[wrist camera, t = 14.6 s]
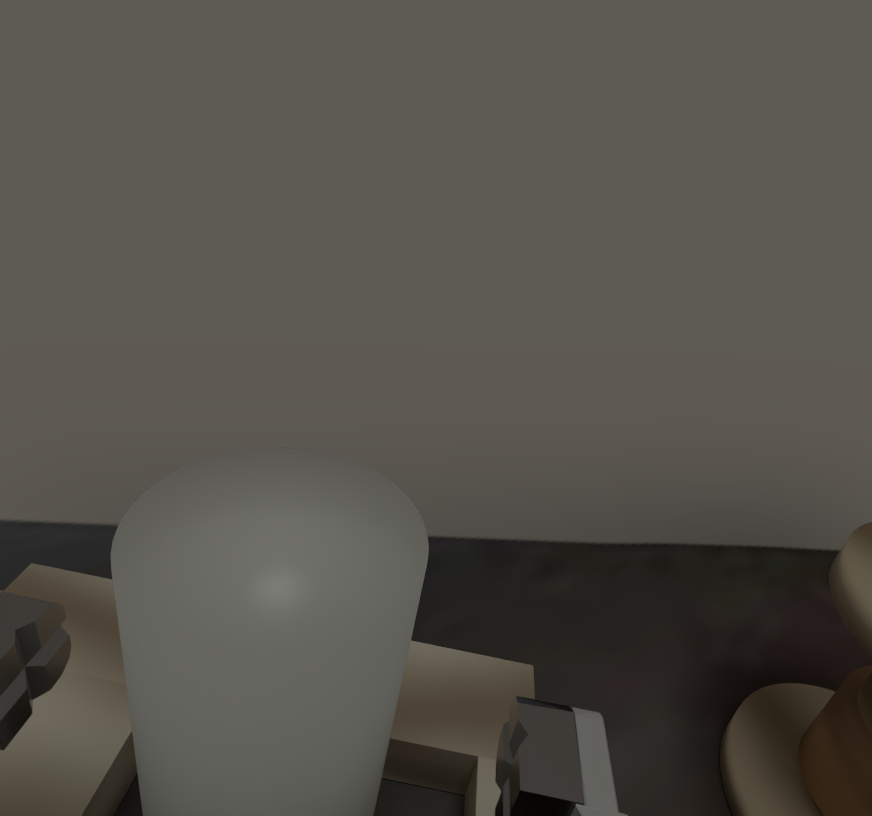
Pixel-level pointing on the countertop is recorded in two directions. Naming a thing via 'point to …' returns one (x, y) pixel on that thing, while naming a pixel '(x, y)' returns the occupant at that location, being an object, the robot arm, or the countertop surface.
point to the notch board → (112, 733)
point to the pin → (266, 632)
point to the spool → (810, 723)
